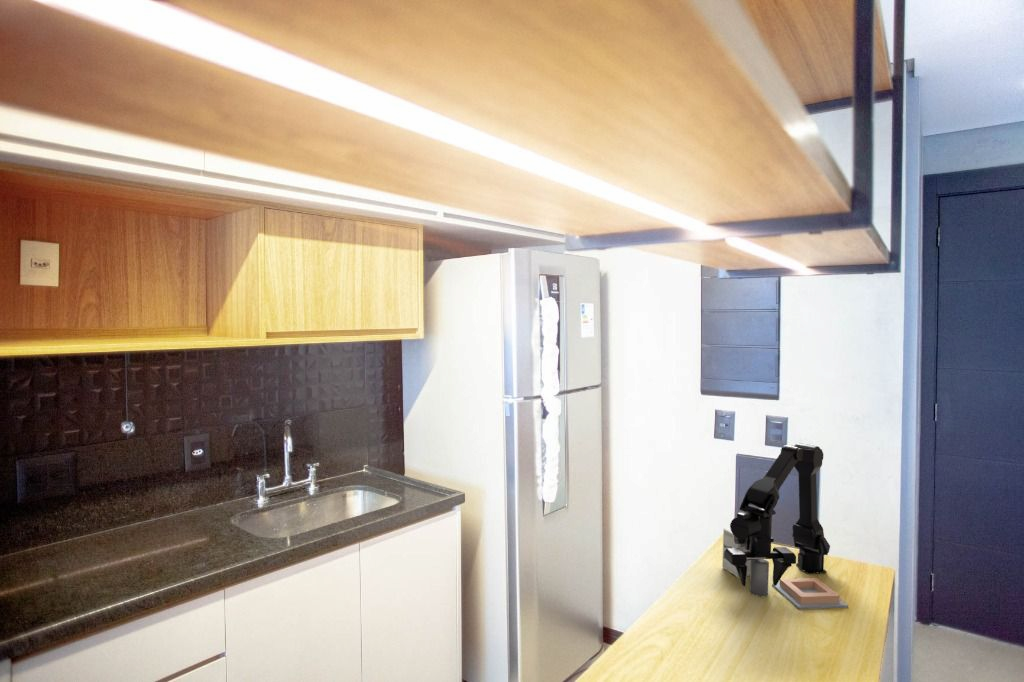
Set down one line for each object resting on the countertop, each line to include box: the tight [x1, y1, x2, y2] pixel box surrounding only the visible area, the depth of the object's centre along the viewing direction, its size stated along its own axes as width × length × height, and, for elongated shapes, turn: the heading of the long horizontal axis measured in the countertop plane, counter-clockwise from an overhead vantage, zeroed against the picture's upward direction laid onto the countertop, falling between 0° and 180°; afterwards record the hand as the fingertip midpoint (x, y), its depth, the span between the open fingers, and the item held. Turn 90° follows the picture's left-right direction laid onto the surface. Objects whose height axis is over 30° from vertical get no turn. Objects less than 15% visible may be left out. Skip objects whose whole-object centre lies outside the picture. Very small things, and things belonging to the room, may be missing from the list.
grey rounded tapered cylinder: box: [749, 559, 770, 597], centre depth 170 cm, size 5×5×9 cm
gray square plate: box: [771, 577, 849, 610], centre depth 168 cm, size 14×14×3 cm
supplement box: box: [722, 527, 751, 578], centre depth 184 cm, size 7×7×13 cm
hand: (759, 585), depth 170 cm, fingers open, 9 cm apart
